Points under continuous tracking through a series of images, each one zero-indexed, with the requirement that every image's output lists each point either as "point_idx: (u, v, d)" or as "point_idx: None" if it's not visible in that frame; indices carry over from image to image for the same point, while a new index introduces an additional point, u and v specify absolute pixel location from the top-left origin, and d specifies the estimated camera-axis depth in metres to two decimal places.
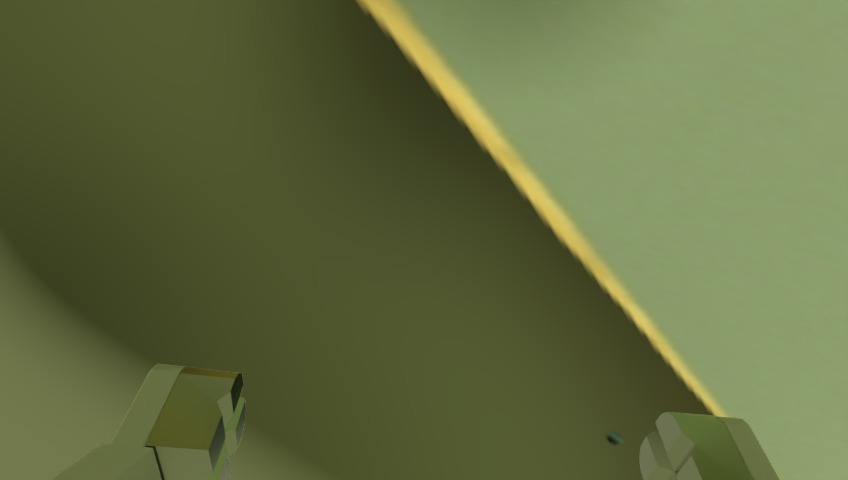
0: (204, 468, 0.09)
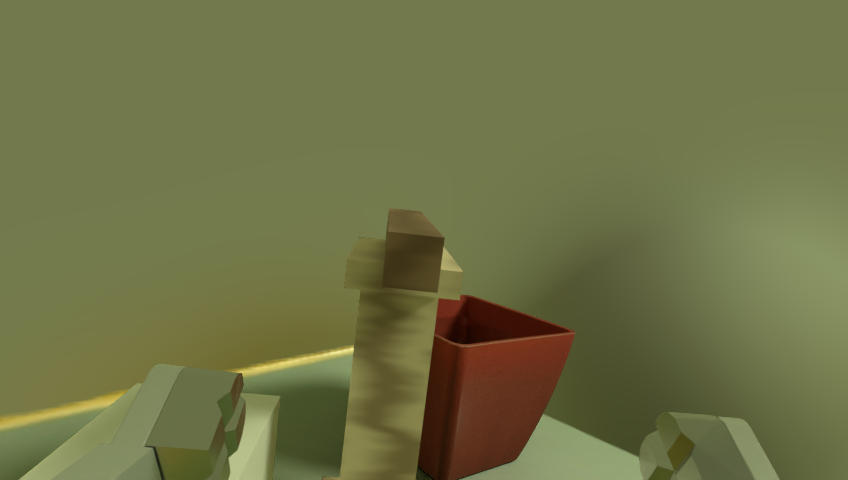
0: (204, 468, 0.08)
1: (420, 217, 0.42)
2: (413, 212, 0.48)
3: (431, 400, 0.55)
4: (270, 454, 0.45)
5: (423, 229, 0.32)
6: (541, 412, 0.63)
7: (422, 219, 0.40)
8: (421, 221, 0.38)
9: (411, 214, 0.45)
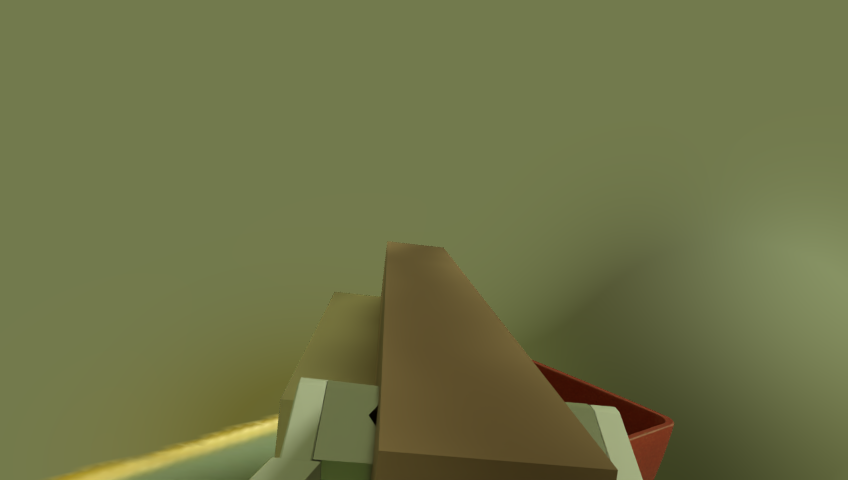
0: None
1: (451, 273, 0.20)
2: (431, 252, 0.26)
3: None
4: None
5: (492, 365, 0.10)
6: None
7: (458, 282, 0.19)
8: (461, 295, 0.16)
9: (430, 261, 0.23)
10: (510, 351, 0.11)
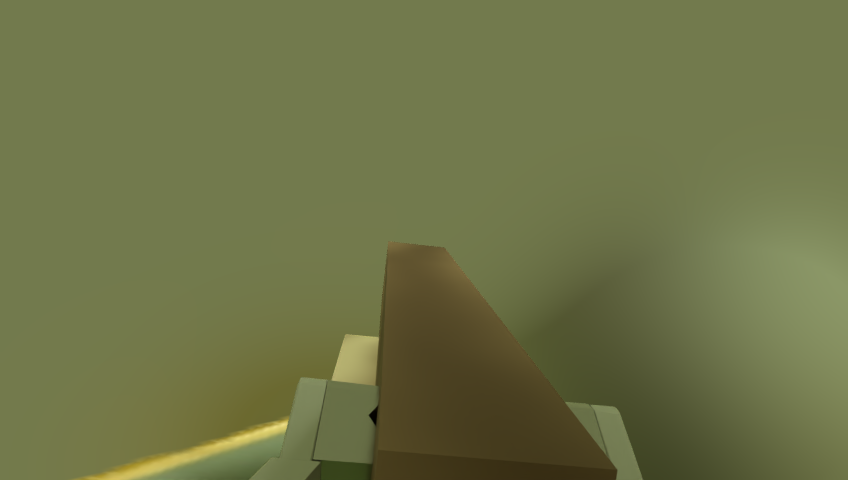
0: None
1: (452, 272, 0.20)
2: (432, 252, 0.26)
3: None
4: None
5: (492, 365, 0.10)
6: None
7: (459, 282, 0.19)
8: (462, 295, 0.16)
9: (431, 261, 0.23)
10: (510, 351, 0.11)
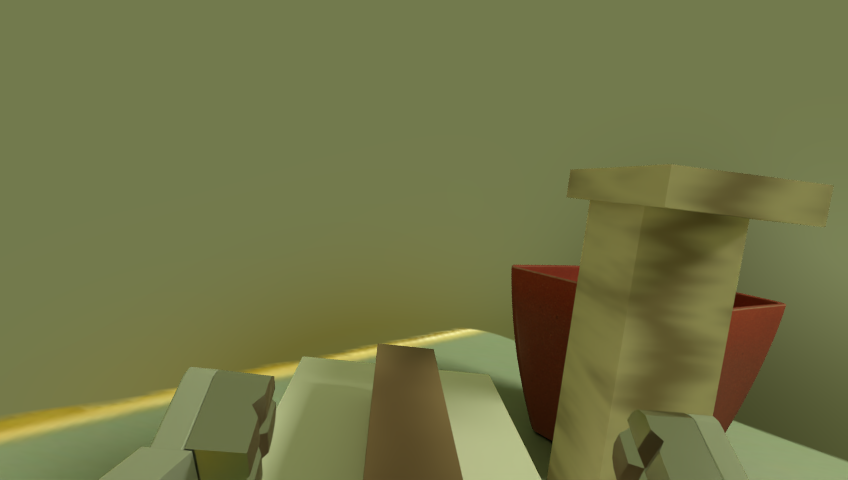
0: (241, 471, 0.09)
1: (435, 413, 0.21)
2: (420, 363, 0.26)
3: None
4: None
5: None
6: (741, 402, 0.51)
7: (440, 438, 0.19)
8: (440, 471, 0.17)
9: (417, 387, 0.23)
10: None
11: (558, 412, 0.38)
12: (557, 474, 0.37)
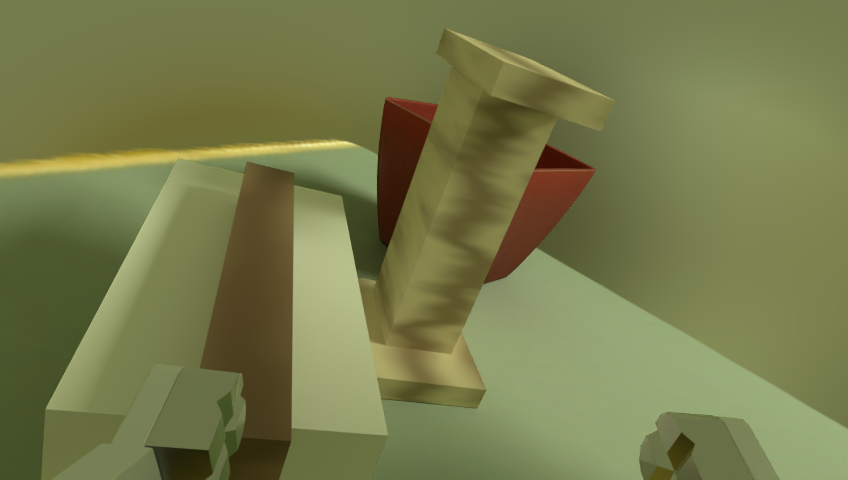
0: (204, 468, 0.08)
1: (283, 227, 0.28)
2: (280, 185, 0.32)
3: None
4: None
5: (266, 359, 0.19)
6: (542, 238, 0.66)
7: (283, 245, 0.26)
8: (278, 268, 0.24)
9: (273, 205, 0.30)
10: (283, 342, 0.20)
11: (394, 230, 0.48)
12: (385, 275, 0.48)
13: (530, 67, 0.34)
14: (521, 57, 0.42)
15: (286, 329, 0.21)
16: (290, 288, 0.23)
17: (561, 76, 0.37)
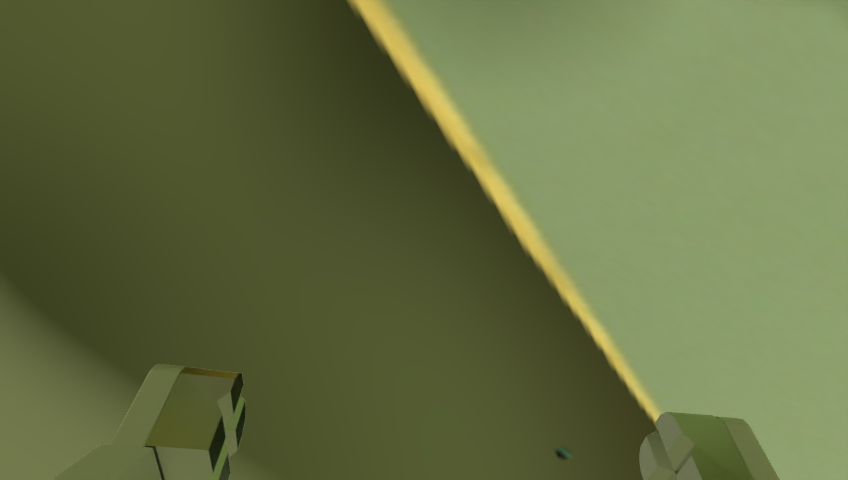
0: (204, 468, 0.08)
1: None
2: None
3: None
4: None
5: None
6: None
7: None
8: None
9: None
10: None
11: None
12: None
13: None
14: None
15: None
16: None
17: None
